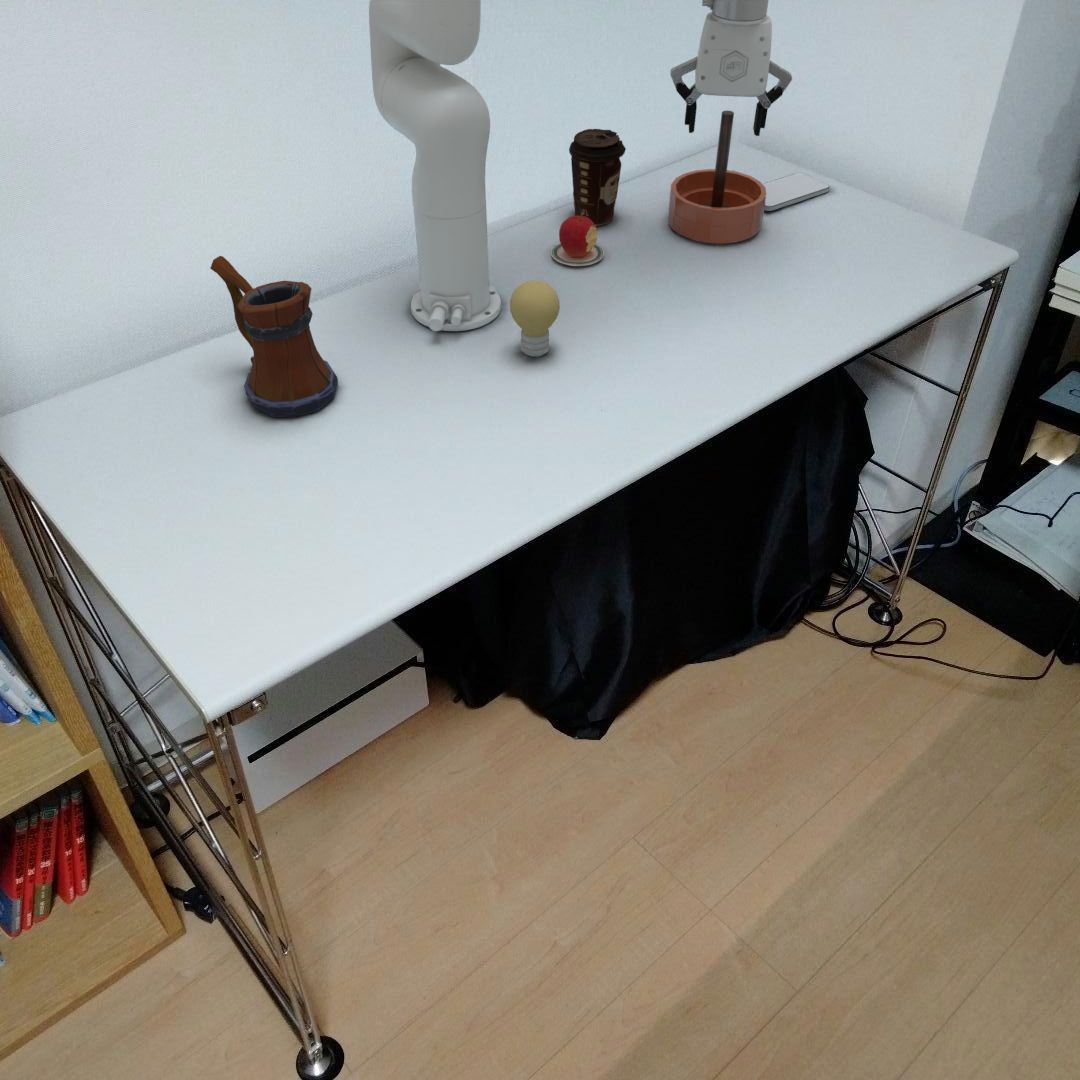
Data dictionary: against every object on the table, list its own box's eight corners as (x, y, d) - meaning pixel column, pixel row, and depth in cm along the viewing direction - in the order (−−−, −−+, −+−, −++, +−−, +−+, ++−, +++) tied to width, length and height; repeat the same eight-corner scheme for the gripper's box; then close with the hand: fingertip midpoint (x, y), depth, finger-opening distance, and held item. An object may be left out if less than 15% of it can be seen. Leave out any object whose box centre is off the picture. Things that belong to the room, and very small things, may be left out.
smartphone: (832, 186, 173) (768, 207, 166) (831, 193, 173) (767, 214, 167) (800, 171, 177) (736, 191, 170) (798, 178, 178) (735, 198, 171)
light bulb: (517, 368, 134) (516, 299, 128) (505, 342, 139) (504, 275, 132) (565, 361, 136) (566, 292, 129) (551, 335, 140) (552, 268, 133)
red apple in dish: (602, 243, 160) (603, 202, 155) (605, 268, 154) (607, 227, 149) (550, 243, 160) (550, 203, 155) (551, 268, 154) (551, 227, 149)
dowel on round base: (733, 230, 162) (748, 120, 150) (697, 229, 162) (709, 119, 150) (731, 214, 166) (745, 106, 154) (696, 212, 166) (708, 105, 154)
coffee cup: (622, 207, 169) (627, 127, 160) (620, 230, 163) (625, 149, 154) (569, 205, 170) (571, 125, 161) (565, 228, 163) (567, 146, 155)
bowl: (763, 248, 158) (769, 211, 154) (668, 244, 159) (671, 207, 155) (757, 206, 169) (762, 170, 165) (667, 203, 170) (670, 167, 166)
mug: (201, 372, 134) (172, 267, 124) (276, 338, 140) (255, 235, 130) (281, 432, 124) (257, 323, 114) (357, 393, 130) (341, 286, 120)
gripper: (677, 11, 140) (665, 138, 152) (806, 16, 139) (784, 143, 151) (676, -4, 146) (665, 119, 157) (800, 0, 145) (780, 124, 156)
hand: (723, 131), depth 154 cm, fingers open, 9 cm apart
